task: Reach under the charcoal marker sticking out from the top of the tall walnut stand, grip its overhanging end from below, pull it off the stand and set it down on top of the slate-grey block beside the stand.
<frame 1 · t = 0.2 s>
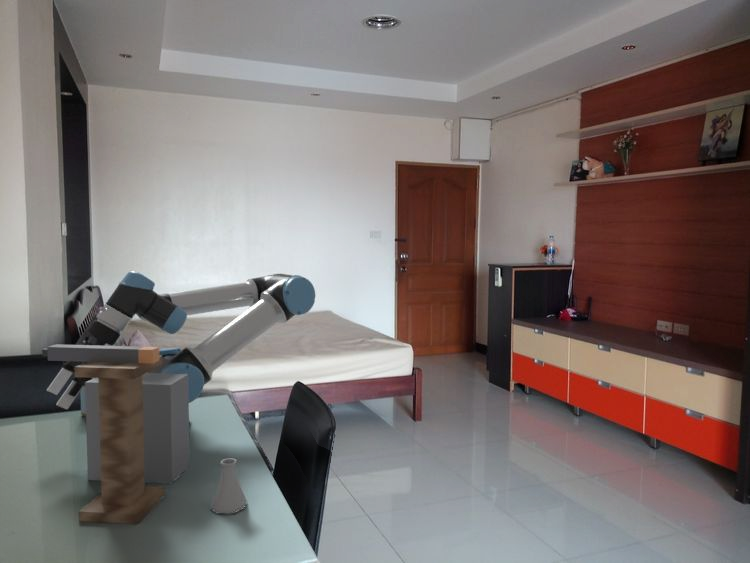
hand: (56, 399, 138), 16 cm above the table, tool tilted 35°, fingers open, 13 cm apart
flask: (229, 508, 117), on the table
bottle: (93, 414, 175), on the table
marker: (103, 360, 113), point 31 cm above the table, touching stand
stand: (123, 507, 116), on the table
block: (140, 472, 133), on the table
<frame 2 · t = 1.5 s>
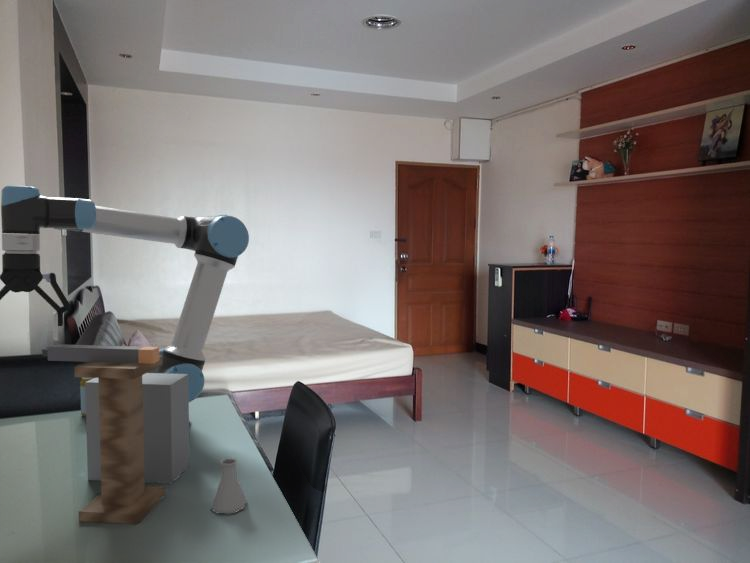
hand: (22, 342, 132), 31 cm above the table, tool pointing down, fingers open, 13 cm apart
nothing on the table moved.
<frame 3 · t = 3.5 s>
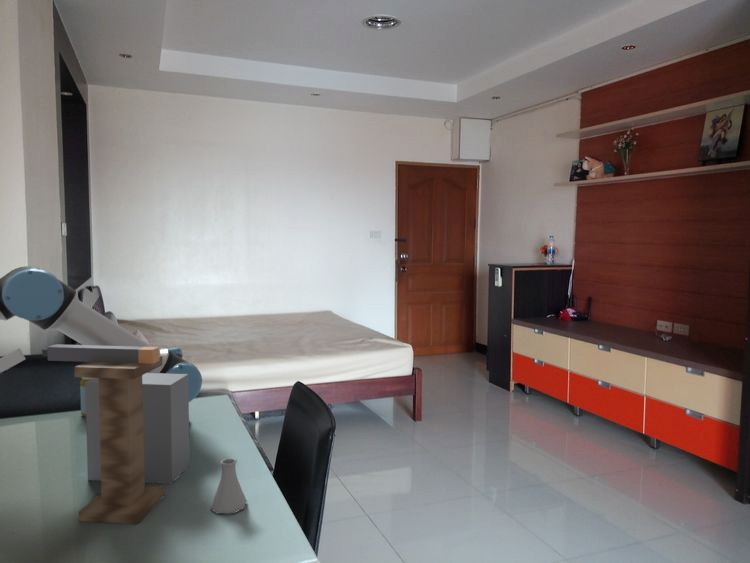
nothing on the table moved.
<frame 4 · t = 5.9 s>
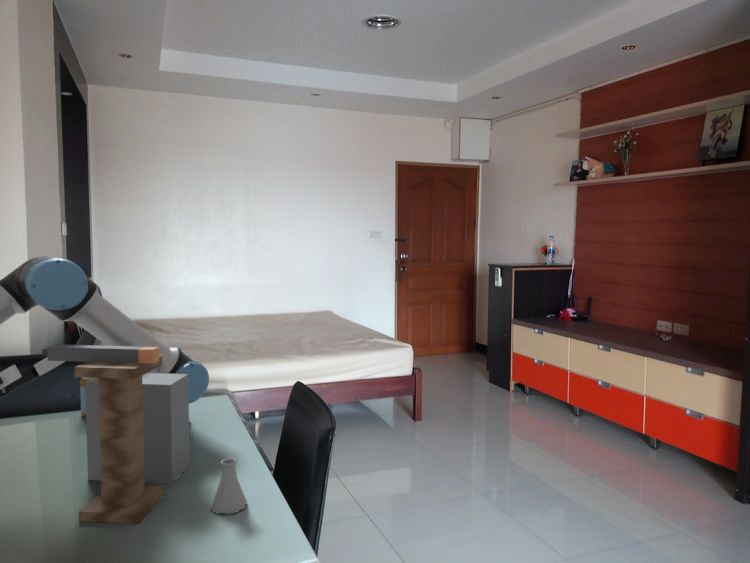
hand: (41, 363, 114), 30 cm above the table, tool pointing upward, fingers open, 13 cm apart
nothing on the table moved.
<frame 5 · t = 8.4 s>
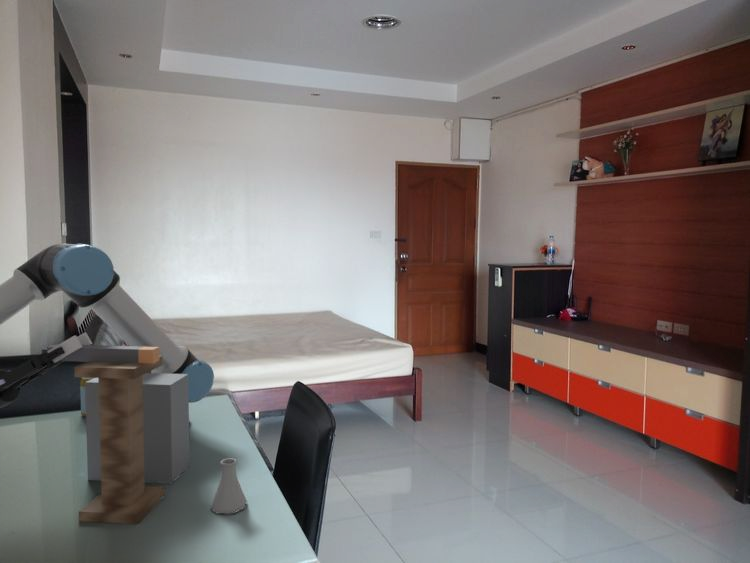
hand: (83, 339, 113), 35 cm above the table, tool pointing upward, fingers closed on marker, 3 cm apart
marker: (103, 360, 113), point 31 cm above the table, touching gripper
everything else where it was.
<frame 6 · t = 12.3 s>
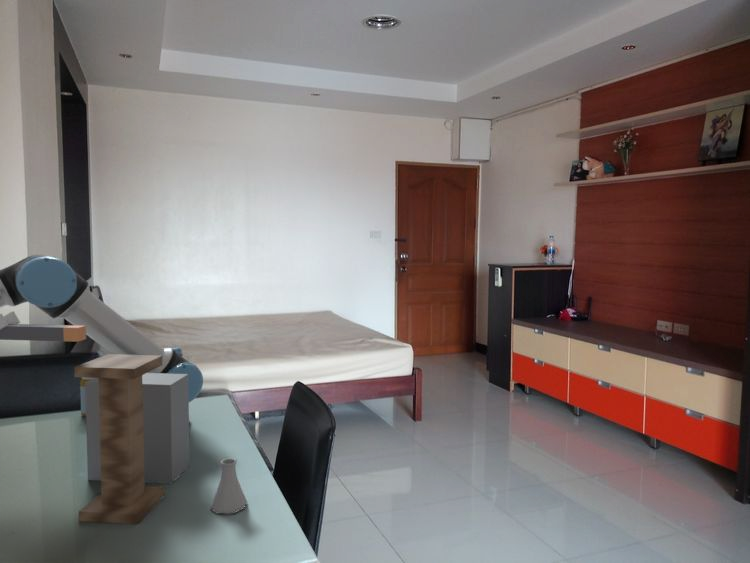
hand: (9, 318, 114), 39 cm above the table, tool pointing upward, fingers closed on marker, 3 cm apart
marker: (30, 339, 114), point 35 cm above the table, touching gripper
everything else where it was.
when the fingers open (29 cm above the table, at t = 16.6 s): marker drops 2 cm, resting on block.
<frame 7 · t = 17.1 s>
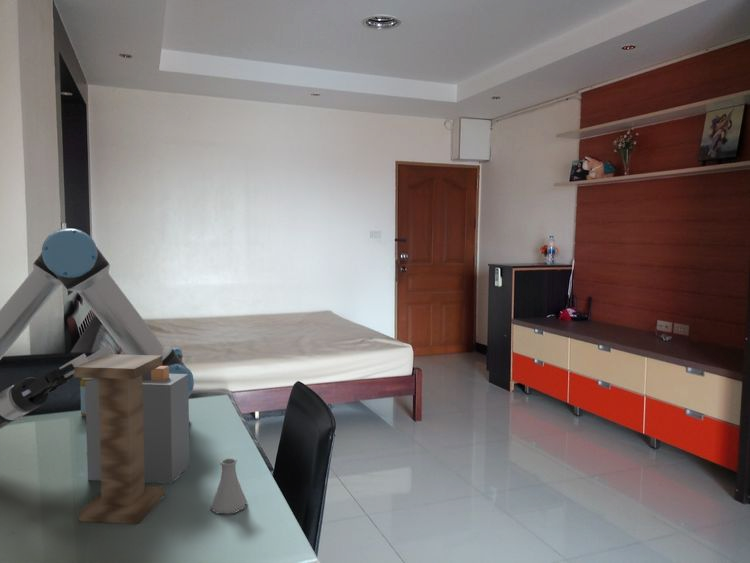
hand: (99, 354, 131), 28 cm above the table, tool pointing upward, fingers open, 10 cm apart
marker: (121, 377, 131), point 23 cm above the table, touching block
everything else where it was.
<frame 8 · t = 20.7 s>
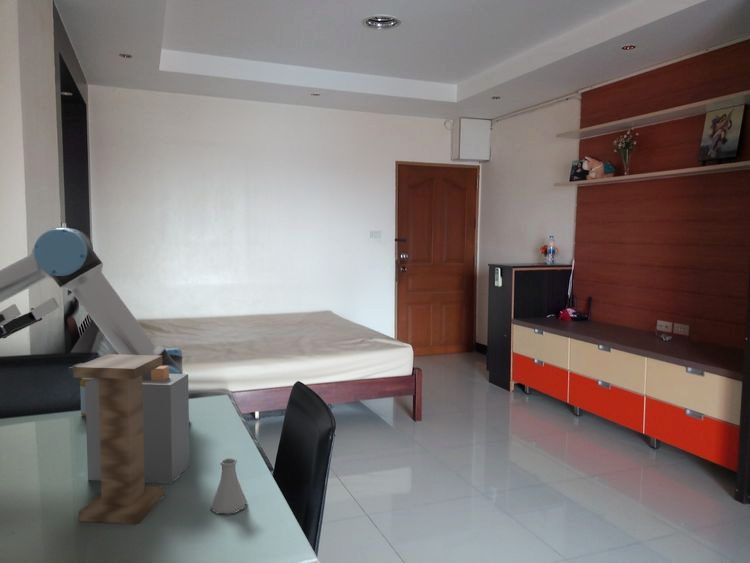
hand: (37, 305, 131), 40 cm above the table, tool pointing upward, fingers open, 13 cm apart
nothing on the table moved.
at the end: marker inside the target area (0.3 cm from its centre), point 23.0 cm above the table; the gripper is holding nothing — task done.
